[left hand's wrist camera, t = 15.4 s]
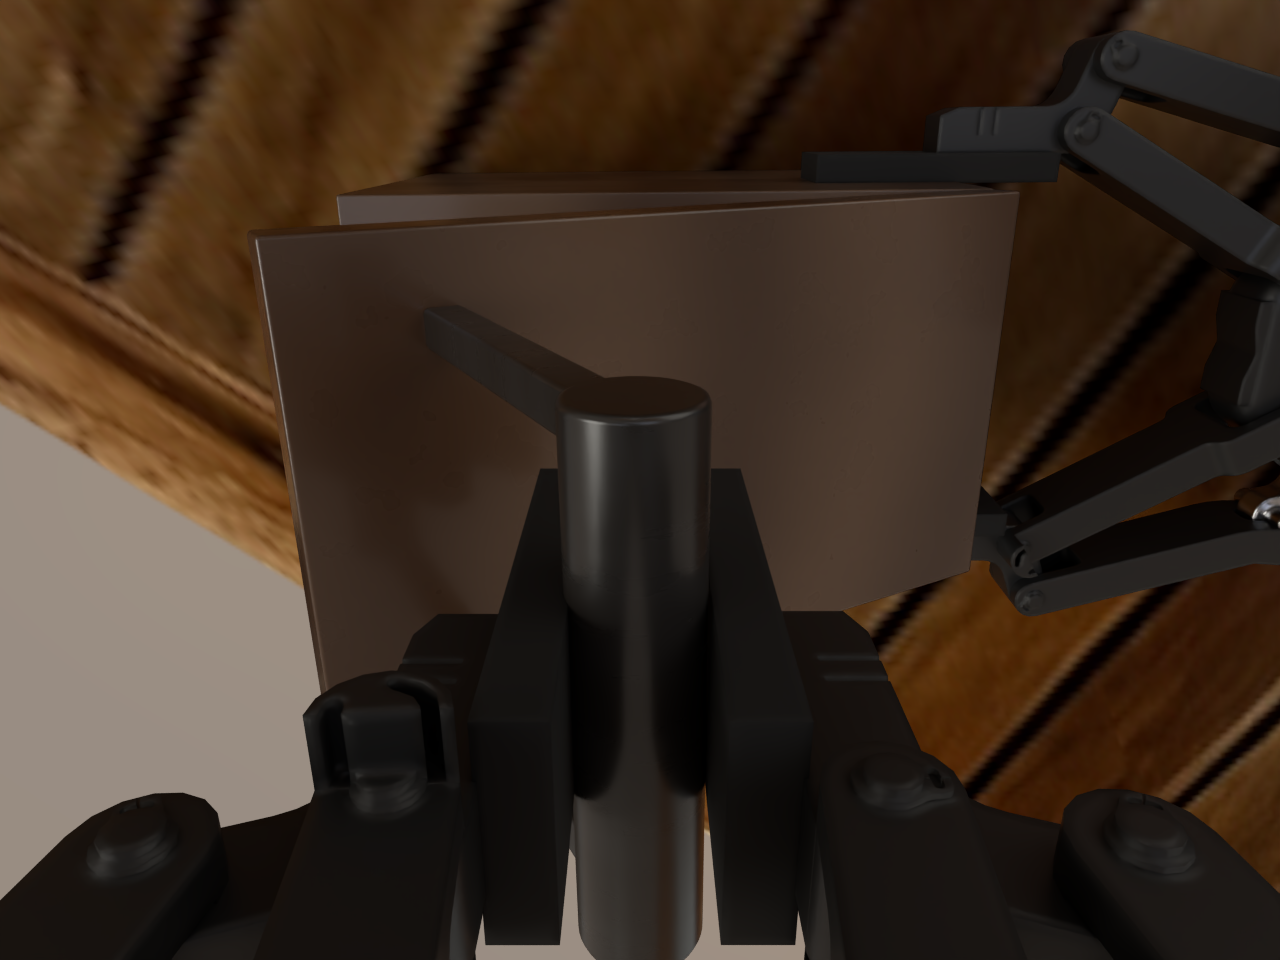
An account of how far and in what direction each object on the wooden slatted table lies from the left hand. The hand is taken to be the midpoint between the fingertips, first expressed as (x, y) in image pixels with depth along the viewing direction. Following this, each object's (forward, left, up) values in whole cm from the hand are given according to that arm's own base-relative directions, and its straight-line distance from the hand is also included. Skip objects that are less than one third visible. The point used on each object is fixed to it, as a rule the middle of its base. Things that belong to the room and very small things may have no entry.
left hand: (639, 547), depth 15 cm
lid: (0, +1, -6) cm, 6 cm away
